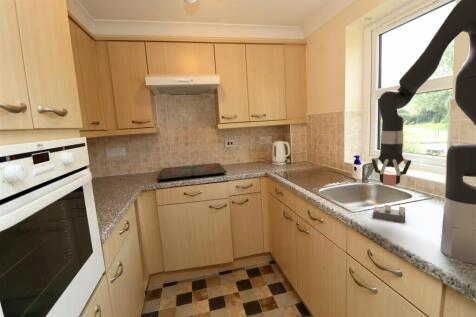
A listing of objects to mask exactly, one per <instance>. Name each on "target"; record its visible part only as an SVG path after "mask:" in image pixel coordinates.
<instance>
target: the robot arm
mask: <svg viewBox="0 0 476 317" xmlns="http://www.w3.org/2000/svg"><path fill="white" fill-rule="evenodd" d="M462 32H464V33H467V35H468V46H469V47H468V53H467V57H466V59H465V60H464V62H463V64H462V65H461V67H460V68H459V70H458V72H457V74H456V77H455V79H454V80H455V81H454V82H455V83H454V100H455V103H456V105H457V106H458V108H459V109H460V110H461V111H462V112H463V113H464V115H466V116H467V117H468V118H469V119H470V120H471V121H472V123H473V124H474V126H475V127H476V0H460V1H458V2H457V3H456V4H455V6H454V7H453V8H452V10H451V11H450V12H449V13H448V15H447V16H446V18H445V19H444V21H443V22H442V24H441V25H440V27H439V28H438V30H436V32H435V34H434V35H433V36H432V38H431V40H430V41H429V43H428V44H427V45H426V47H425V49H424V50H423V52H421V54H420V55H419V57H418V58H417V60H415V62H413V64H412V65H411V66H410V67H409V69H407V71H406V72H405V73H404V74H403V75H402V76H401V78H400V79H399V81H398V82H399V88H398V89H397V90H386V91H384V92H383V93H381V95H380V97H379V99H378V107H379V108H378V109H379V113H380V118H381V121H382V123H381V133H380V149H379V150H380V151H379V152H380V153H379V156H378V157H373V158H372V159H371V163H372V167H373V170H374V172H375V173H377V174H379V182H381V184H383V174H384V172H385V171H386V168H394V170H395V173H397V175H396V186H398V185H399V184H400V182H401V176H402V175H406V174H407V173H408V171H409V168H410V166H411V164H412V159H408V158H405V157H404V156H403V151H404V150H403V148H404V118H403V116H402V115H399V114H398V110H400V109H403V108H404V107H406V106H407V105H408V104H409V103H410V102H411V101H412V99H413V98H414V96H415V95H416V93H417V92H418V90H419V89H420V88H421V87H422V86H423V85H424V84H425V83H426V82H427V81H428V80H429V79H430V78H431V77H432V76H433V75H434V73H435V72H436V70H437V69H438V68H439V65H440V63H441V60H442V59H443V58H442V57H443V56H444V53H445V51H446V49H447V48H448V47H449V45H450V44H451V43H452V42H453V41H454V40H455V39H456V38H457V37H458V35H460V34H461V33H462ZM446 152H447V154H446V168H445V169H446V175H445V177H446V178H445V192H444V193H445V195H444V201H443V202H444V203H443V204H444V205H443V215H442V226H441V234H440V236H441V237H440V251H441V253H443V254H444V255H445V256H447V257H448V258H449V259H450V260H454V261H455V260H456V261H460V262H464V263H469V264H473V265H476V186H474V185H471V184H469V183H467V182H465V181H464V177H469V178H470V177H472V178H476V143H454V144H451V145H450V146H449V148H447V151H446ZM379 162H380V163H381V164H382V166H381V168H380V169H379V167H378V163H379ZM402 162H403V163H404V166H403V169H402V170H400V164H402Z"/></svg>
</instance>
